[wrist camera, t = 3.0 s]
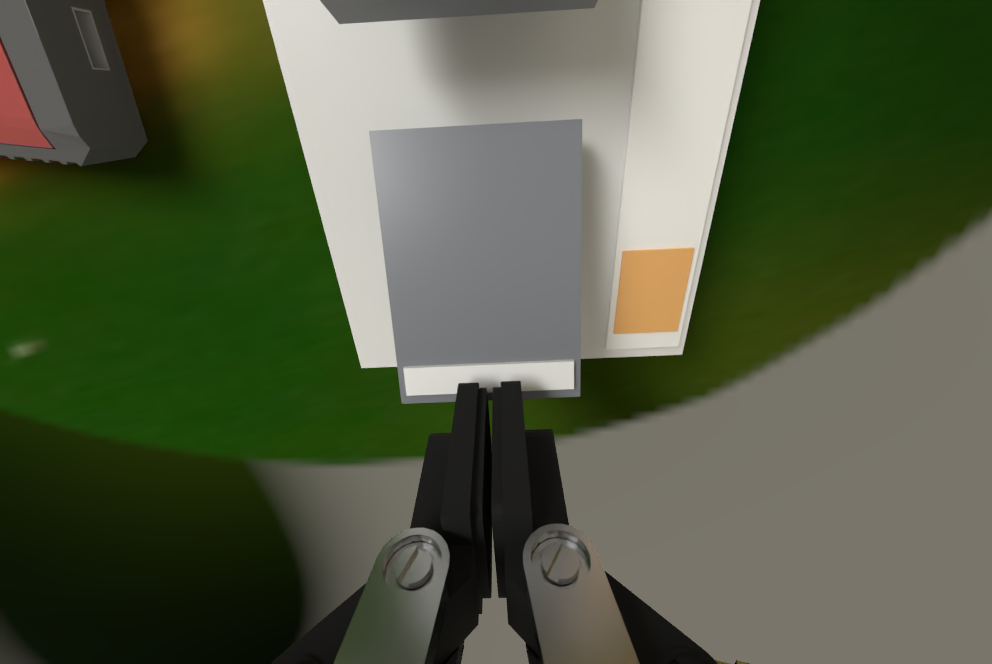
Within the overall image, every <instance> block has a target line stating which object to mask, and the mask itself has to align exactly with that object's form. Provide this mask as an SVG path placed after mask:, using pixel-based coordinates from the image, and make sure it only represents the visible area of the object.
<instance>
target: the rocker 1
mask: <svg viewBox="0 0 992 664" xmlns="http://www.w3.org/2000/svg"><path fill="white" fill-rule="evenodd" d="M320 1H321V2H322V4H323V5H324V6H325V7H326V9H327V10H328V11H329V12H330V13H331V15H332V16H333V17H334V18H335V20H336V21H337V22H338V23H339V24H350V23H366V22H382V21H398V20H413V19H429V18H445V17H461V16H477V15H493V14H508V13H524V12H540V11H556V10H572V9H588V8H595V6H596V3H597V1H598V0H320Z"/></svg>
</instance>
